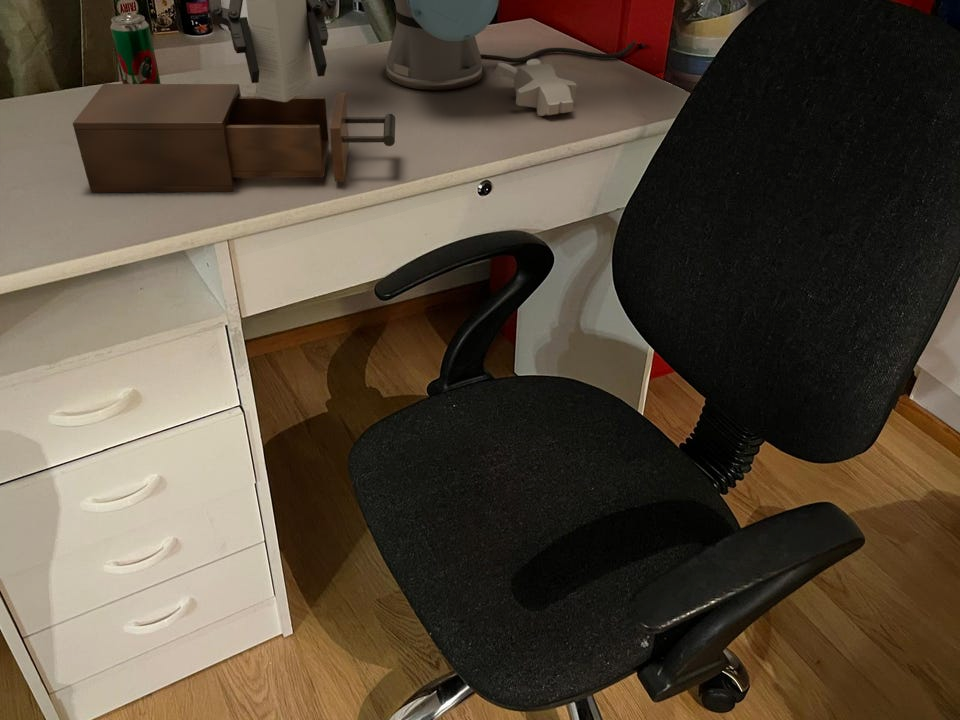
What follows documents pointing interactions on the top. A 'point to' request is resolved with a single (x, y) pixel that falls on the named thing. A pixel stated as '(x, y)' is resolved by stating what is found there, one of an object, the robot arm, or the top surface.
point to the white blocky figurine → (540, 87)
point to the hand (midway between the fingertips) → (289, 73)
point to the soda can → (134, 49)
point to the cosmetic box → (280, 47)
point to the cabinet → (157, 138)
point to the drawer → (293, 136)
